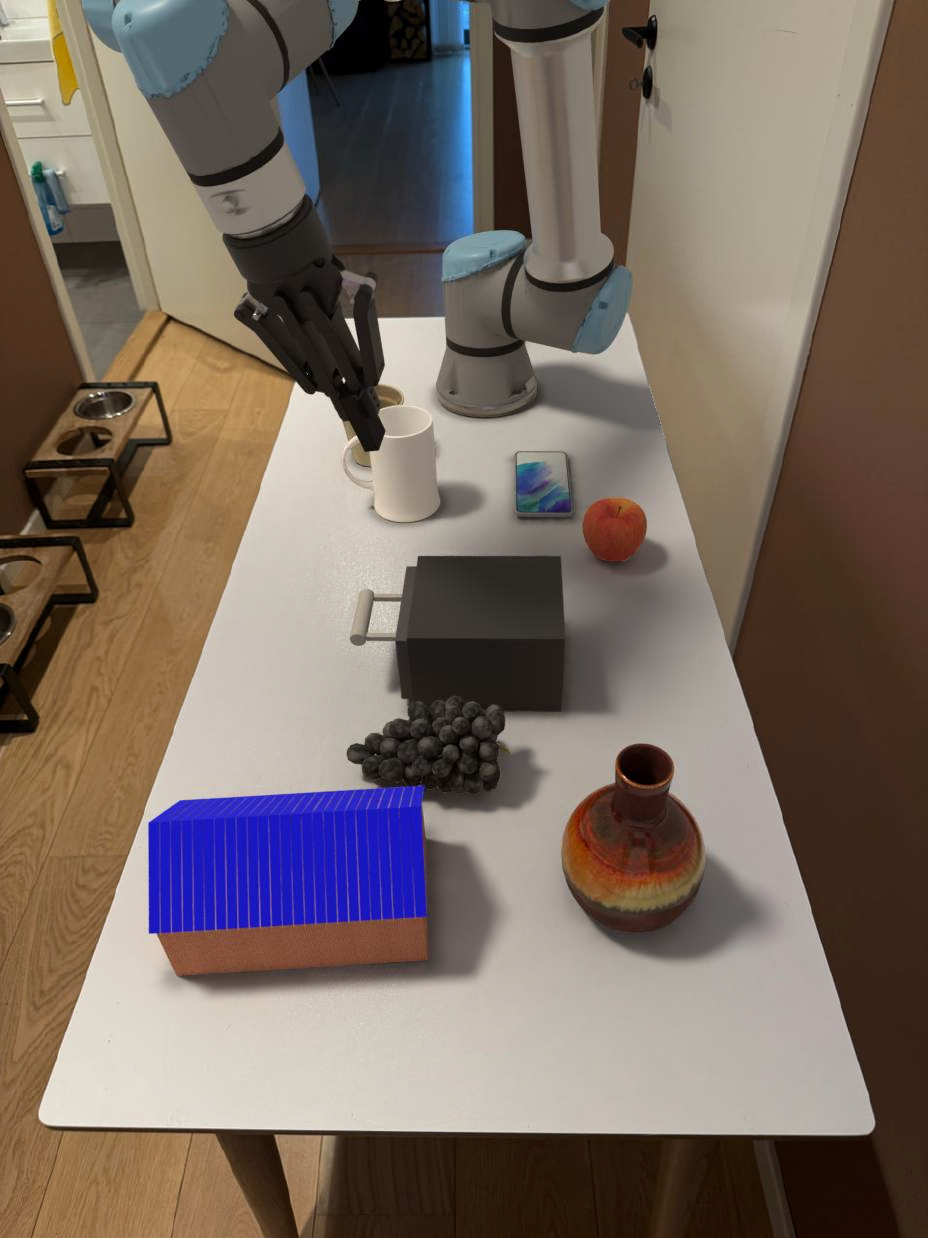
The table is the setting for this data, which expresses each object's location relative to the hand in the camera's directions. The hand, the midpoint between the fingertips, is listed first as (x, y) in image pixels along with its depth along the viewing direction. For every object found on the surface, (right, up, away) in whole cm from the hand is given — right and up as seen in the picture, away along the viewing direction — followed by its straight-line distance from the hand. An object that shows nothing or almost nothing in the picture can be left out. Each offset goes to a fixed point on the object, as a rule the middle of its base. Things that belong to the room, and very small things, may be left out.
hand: (375, 441), depth 88 cm
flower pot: (-4, +6, +40) cm, 41 cm away
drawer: (+7, -21, +7) cm, 23 cm away
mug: (-1, -2, +31) cm, 31 cm away
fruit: (+5, -31, -3) cm, 32 cm away
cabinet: (+11, -22, +8) cm, 26 cm away
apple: (+26, -10, +21) cm, 35 cm away
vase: (+22, -39, -13) cm, 46 cm away
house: (-4, -40, -13) cm, 42 cm away
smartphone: (+19, 0, +33) cm, 38 cm away
